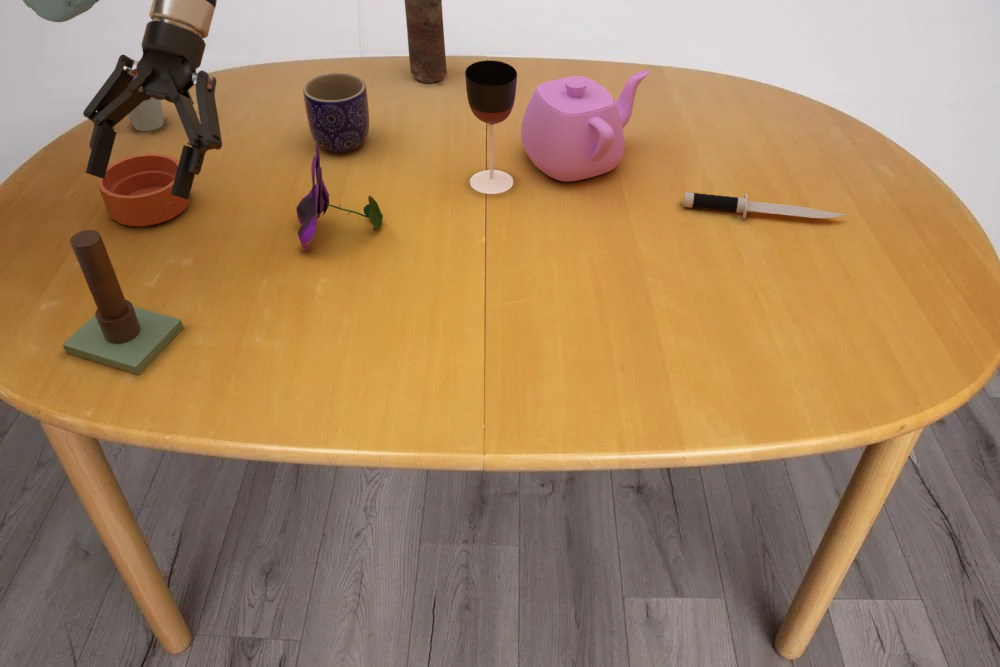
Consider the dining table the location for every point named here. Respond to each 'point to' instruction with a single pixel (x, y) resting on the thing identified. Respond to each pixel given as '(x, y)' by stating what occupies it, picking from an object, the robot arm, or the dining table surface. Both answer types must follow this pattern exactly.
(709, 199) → the knife
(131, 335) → the pestle
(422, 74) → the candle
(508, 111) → the wineglass
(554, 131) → the teapot
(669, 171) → the dining table surface
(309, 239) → the flower
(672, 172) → the dining table surface
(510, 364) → the dining table surface
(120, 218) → the bowl
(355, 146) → the planter
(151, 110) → the cup
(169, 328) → the board
